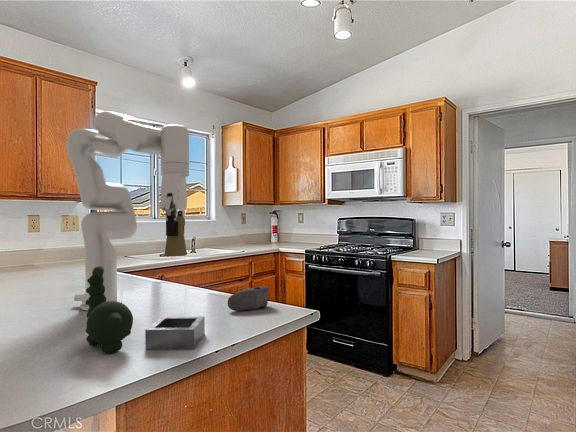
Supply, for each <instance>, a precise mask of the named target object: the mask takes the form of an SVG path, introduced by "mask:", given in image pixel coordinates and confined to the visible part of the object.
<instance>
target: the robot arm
mask: <svg viewBox="0 0 576 432" xmlns="http://www.w3.org/2000/svg"><path fill="white" fill-rule="evenodd" d="M93 123H94V128H95V129H89V128H74V129H73V130H71V131H70V132H69V133H68V135H67V139H66V153H67V156H68V160H69V163H70V164H71V166H72V168H73V171H74V174H75V176H76V177H75V178H76V182H77V187H78V192H79V197H80V201H81V204H82V206H83V207H84V208H85V209H87V210H92V212H90V213H87V214H85V216H84V217H83V218H82V220H81V224H80V225H81V233H82V237H83V238H82V239H83V243H84V285H85V286H84V287H85V289H84V290H85V291H84V292H85V293H83V294H80V293H78V294H74V297H73V301H75V302H80V301H81V303H80V305H79V308H80V310H83V311H88V309H89V305H87V304H86V300H88V299H89V297H90V295H89V293H87V292H86V289H87V288H89V286H90V284H89V283H88V282H87V280H88V279H89V278H90V277H91V276H92V271H93V269H94V268H95V267H98V266H101V267H103V269H104V273H103V276H102V277H103V279H104V282H103V285H104V286H105V293H104V295H105V297H106V302H108V301H117V302H120V303H122V304H123V300H121V299H118V272H117V271H118V261H117V260H118V259H117V258H118V255H117V251H116V248H115V246H114V245H113V244H112V242H111V241H114V240H126V239H130V238H132V237H134V236H135V234H136V232H137V228H138V225H137V218H136V215H135V210H134V205H133V201H132V197H131V193H130V191H129V189H128V188H127V187H126V186H125V185H124V184H121V183H116V182H115V183H114V182H113V183H112V182H107V181H106V178H105V176H104V170H103V168H102V167H101V165H100V163H98V161H97V160H96V159H95V158H94V157H93V156H98V157H106V158H119V157H121V156H122V155H123V154H125V152H127V151H128V150H130V151H133V152H137V153H142V154H149V155H156V156H160V176H162V177H161V182H160V183H161V184H160V185H161V186H160V187H161V188H160V209H161V211H164V212H165V236H166V237H167V236H178V221H177V216H181V217H183V218H184V219H185V211H186V210H187V207H188V190H187V189H188V188H187V177H189V176H190V131H189V129H188V128H187V127H186V126H184V125H181V124H180V125H179V124H166V125H164V126H162V128H159V127H157V128H156V127H153V126H149V125H145V124H144V125H142V124H141V122H140V121H139V120H138V118H135V117H134V116H131V115H127V114H124V113H120V112H119V113H118V112H115V111H108V110H107V111H102V112H100V113H98V114H97V115H96V116H95V117H94V121H93ZM93 210H94V211H93ZM183 231H184V232H185V226H184V227H183Z"/></svg>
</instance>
